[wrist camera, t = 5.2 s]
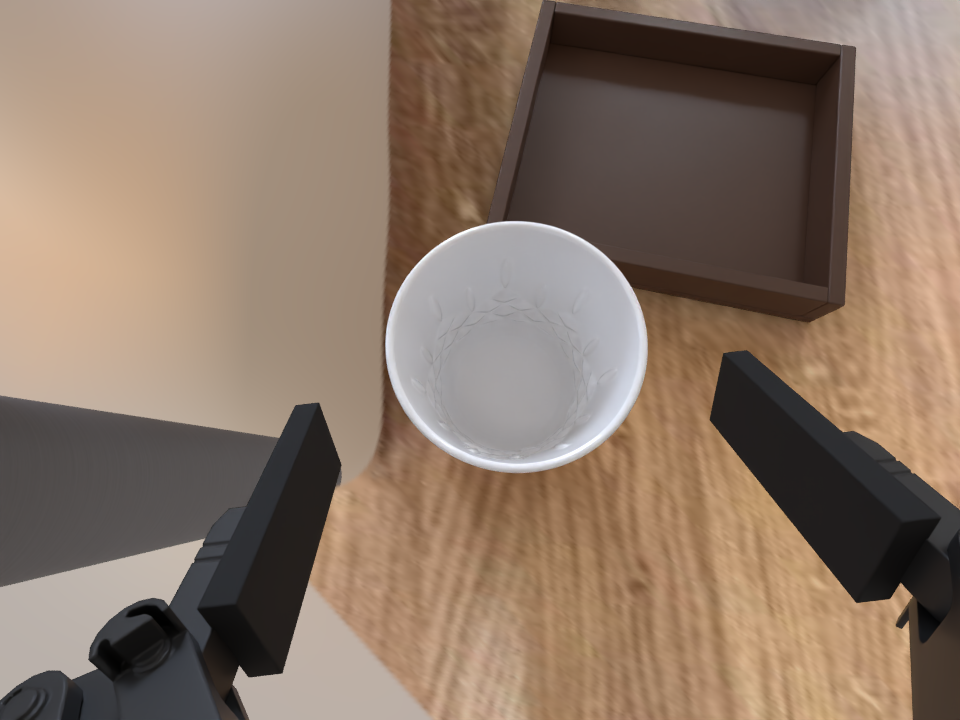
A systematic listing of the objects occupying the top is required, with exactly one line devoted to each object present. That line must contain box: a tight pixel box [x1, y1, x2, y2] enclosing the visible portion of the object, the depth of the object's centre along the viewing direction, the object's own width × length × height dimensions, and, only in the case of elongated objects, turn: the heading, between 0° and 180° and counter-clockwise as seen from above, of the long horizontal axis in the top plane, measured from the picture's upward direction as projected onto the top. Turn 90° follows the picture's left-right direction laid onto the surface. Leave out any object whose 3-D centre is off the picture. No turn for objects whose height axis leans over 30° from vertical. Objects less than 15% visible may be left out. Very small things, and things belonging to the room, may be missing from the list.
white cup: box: [386, 221, 648, 473], centre depth 18 cm, size 8×8×10 cm
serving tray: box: [487, 0, 856, 322], centre depth 25 cm, size 18×16×2 cm
